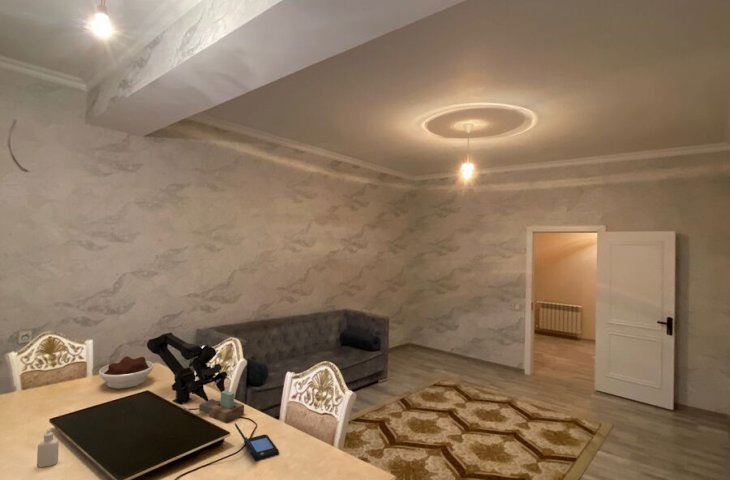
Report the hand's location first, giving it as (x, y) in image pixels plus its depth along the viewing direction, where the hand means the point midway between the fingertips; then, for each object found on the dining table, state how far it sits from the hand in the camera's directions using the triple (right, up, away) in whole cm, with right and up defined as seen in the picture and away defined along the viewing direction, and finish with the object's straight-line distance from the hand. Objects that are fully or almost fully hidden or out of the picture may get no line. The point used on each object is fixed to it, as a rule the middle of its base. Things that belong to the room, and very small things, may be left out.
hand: (216, 397), depth 178 cm
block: (+6, -5, -4) cm, 9 cm away
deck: (-3, -7, +2) cm, 7 cm away
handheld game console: (+27, -8, -30) cm, 42 cm away
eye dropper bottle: (-42, -5, -44) cm, 61 cm away
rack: (+6, -7, -4) cm, 10 cm away
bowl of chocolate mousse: (-59, -5, +28) cm, 66 cm away
